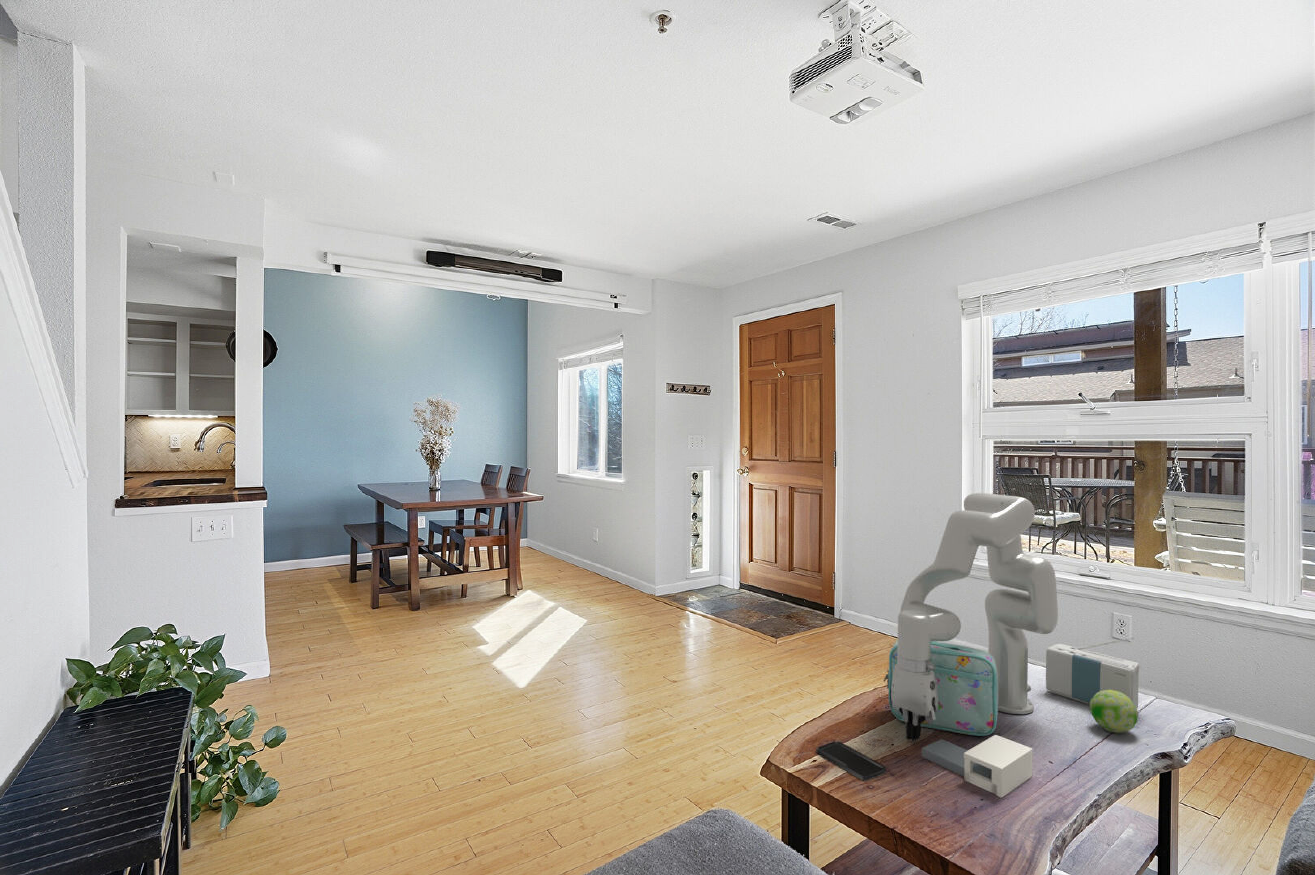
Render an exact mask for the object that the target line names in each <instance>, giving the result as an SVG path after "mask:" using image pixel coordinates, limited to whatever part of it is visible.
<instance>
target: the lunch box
mask: <svg viewBox="0 0 1315 875" xmlns="http://www.w3.org/2000/svg"><path fill="white" fill-rule="evenodd" d="M897 654H898V639H896V641H895V642H894V644H893V646H892V647H891V649H890V650H889V655H888V669H887V673H886V674H885V676H884V679H883V682H887V683H886V686H887V687H886V689H888V702H889V708H890V711H891V713H892V714H893V715H894V717H895V718H896V719H897V720H899V721H902V722H905V721H904V719H903V716H902V714H901V713H900V711H898V710H897V709H895V708H894V707H893V706H892V703H893V702H892V699H891V688H892V678H893V673H894V669H895V665H896V664H897ZM931 663H932V664H934V665H935V666H936V669H935V670H931V671H933V672H934V674H935V678H936V683H937V692H938V711H937V712H934V713H935V717H936V720H935V721H933V722H927V721H924V722H922V723H921V728H922V727H923V728H928V729H935V730H939V731H943V732H944V731H945V732H951V733H958V734H961V735H962V734H963V735H969V736H978V737H980V736H981V737H984V736H990V735H991V734H993V733H994V732H995V729H996V728H997V723H998V716H999V714H998V713H999V711H998V675H997V667H996V662H995V660H994V658H993V657H992V656H991V655H990V654H989V653H988V652H987V651H984V650H982V649H978V648H973V647H969V646H963V645H958V644H953V643H947V642H943V641H932V642H931ZM886 680H887V681H886ZM905 723H906V722H905Z"/></svg>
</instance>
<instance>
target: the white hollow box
mask: <svg viewBox="0 0 1315 875" xmlns="http://www.w3.org/2000/svg"><path fill="white" fill-rule="evenodd" d="M967 750H968V751H967V752H965V753H964V758H965V761H964V776H963V778H964V781H965V782H967V783H970V784H972V785H974V786H976V787H978V788H979V789H980V788H981V789H983V790H985V791H988V792H989V793H992V794H994V795H996V797H998V798H1000V799H1003V797H1005V796H1006V795H1008V794H1009V793H1010V792H1012V791H1014V790H1015V789H1016V788H1018V787H1019V786H1021V785H1023V783H1025V782H1026V781H1027V780H1029V779H1030V778H1032V777H1033V770H1034V769H1033V766H1034V764H1033V762H1034V761H1033V760H1034V759H1033V756H1034V754H1033V753H1034V749H1033V748H1032V747H1029V746H1027V745H1025V744H1024V745H1023V744H1021V743H1018V742H1016V741H1013V740H1010V739H1007V737H1003V736H999V735H997V734H993V736H991V737H989V738H987V739H986V740H984V741H982V742H980V743H978V744H977V745H975V746H973V747H972V748H970V749H967ZM973 762H975V763H978V764H980V765H982V766H985V767H987V768H990V769H992V780H991V779H988V778H986V777H984V776H982V775H979V774H977V773H975V772H973Z"/></svg>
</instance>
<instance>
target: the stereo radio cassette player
mask: <svg viewBox="0 0 1315 875" xmlns="http://www.w3.org/2000/svg"><path fill="white" fill-rule="evenodd" d="M1134 638H1135V637H1134V636H1131V637H1130V638H1125V639H1124V638H1123V639H1118V640H1112V641H1106V642H1102V643H1097V644H1091V645H1087V646H1080V647H1075V646H1071V645H1068V644H1064V643H1057V644H1053V645H1052V646H1049V647H1047V648H1046V652H1045V653H1046V655H1045V688H1046V690H1047V691H1049V693H1051V694H1053V695H1054V694H1055V695H1058V696H1062V697H1064V698H1065V697H1066V698H1069V699H1072V700H1074V701H1078V702H1081V703H1084V704H1087V705H1090V701H1091V699H1092V698H1093V697H1094V696H1095V694H1096V693H1098V692H1100V691H1102V690H1114V691H1118V692H1121V693H1123V694H1125V695H1126V696H1127V697H1129V698H1130V700H1132V702H1133V703H1134V705H1135V707H1136V708H1137V709H1138V708H1139V673H1140V672H1139V671H1140V663H1139V662H1136V661H1131V660H1128V659H1124V658H1119V657H1116V656H1111V655H1108V654H1104V653H1100V652H1096V651H1091V650H1088V649H1089V648H1094V647H1099V646H1104V645H1109V644H1113V643H1118V642H1122V641H1127V640H1134Z"/></svg>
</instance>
